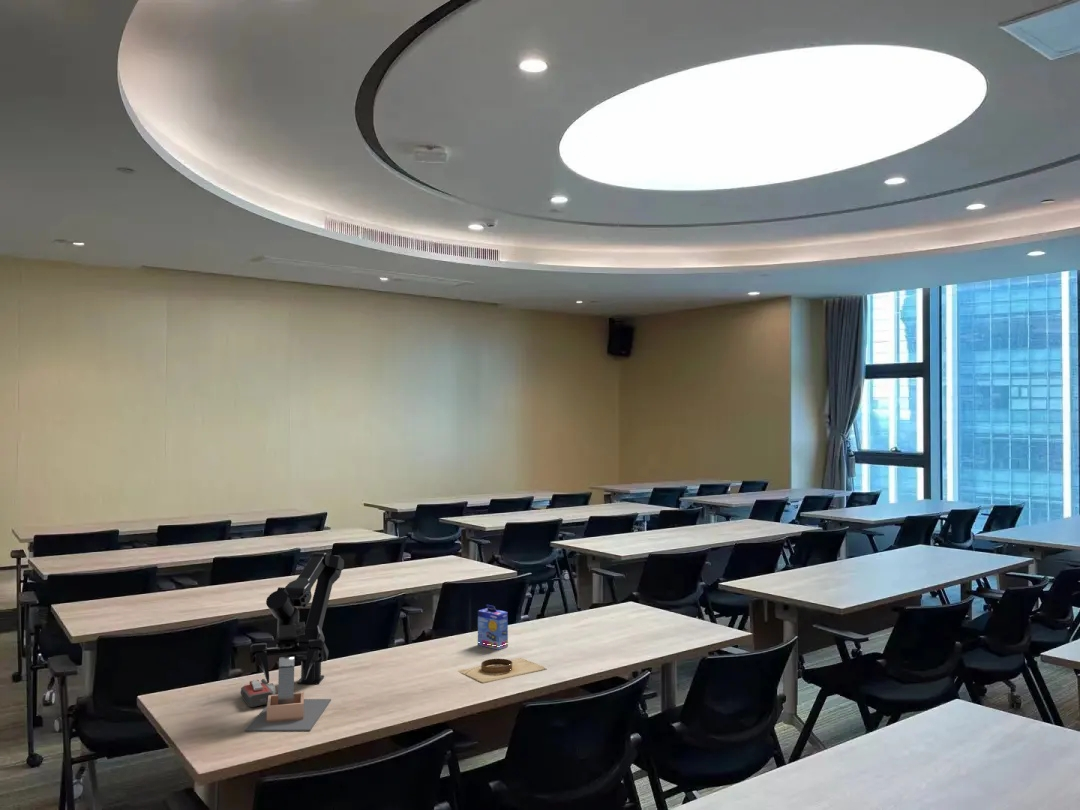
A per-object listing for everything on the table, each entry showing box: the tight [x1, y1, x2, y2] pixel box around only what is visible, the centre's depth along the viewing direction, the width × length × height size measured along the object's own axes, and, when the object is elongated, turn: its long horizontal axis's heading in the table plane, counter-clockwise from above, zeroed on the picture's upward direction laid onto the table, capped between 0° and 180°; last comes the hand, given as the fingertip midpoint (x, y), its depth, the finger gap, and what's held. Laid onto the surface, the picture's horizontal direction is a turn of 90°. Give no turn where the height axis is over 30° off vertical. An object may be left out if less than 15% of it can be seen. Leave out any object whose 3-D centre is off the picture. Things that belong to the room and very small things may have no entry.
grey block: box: [277, 655, 295, 705], centre depth 202 cm, size 3×4×14 cm
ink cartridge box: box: [477, 604, 509, 651], centre depth 270 cm, size 10×6×14 cm, turn 54°
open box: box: [266, 691, 305, 723], centre depth 201 cm, size 9×9×4 cm
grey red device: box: [240, 678, 277, 708], centre depth 216 cm, size 9×4×20 cm
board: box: [457, 657, 547, 684], centre depth 242 cm, size 25×15×3 cm, turn 127°
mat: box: [244, 698, 332, 732], centre depth 202 cm, size 22×16×1 cm
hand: (286, 680), depth 202 cm, fingers open, 9 cm apart
